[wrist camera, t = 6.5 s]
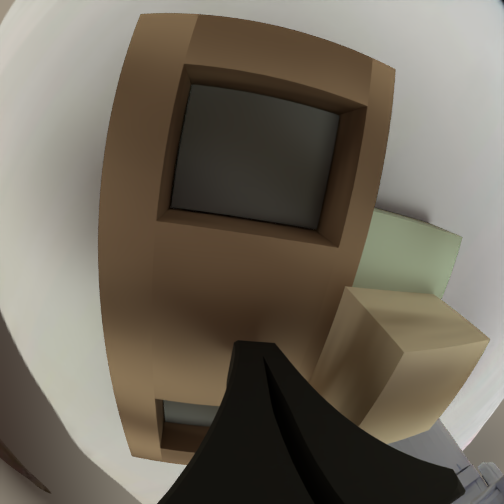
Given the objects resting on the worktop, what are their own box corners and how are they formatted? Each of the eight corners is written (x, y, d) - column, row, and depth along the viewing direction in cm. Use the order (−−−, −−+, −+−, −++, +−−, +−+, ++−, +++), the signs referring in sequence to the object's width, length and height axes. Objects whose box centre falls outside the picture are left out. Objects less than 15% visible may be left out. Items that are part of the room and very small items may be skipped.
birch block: (392, 377, 12) (428, 430, 8) (307, 385, 11) (335, 456, 7) (433, 293, 10) (490, 339, 7) (345, 286, 10) (404, 352, 6)
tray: (334, 433, 17) (343, 457, 14) (137, 428, 14) (131, 456, 12) (447, 125, 10) (480, 125, 8) (155, 40, 8) (140, 14, 6)
